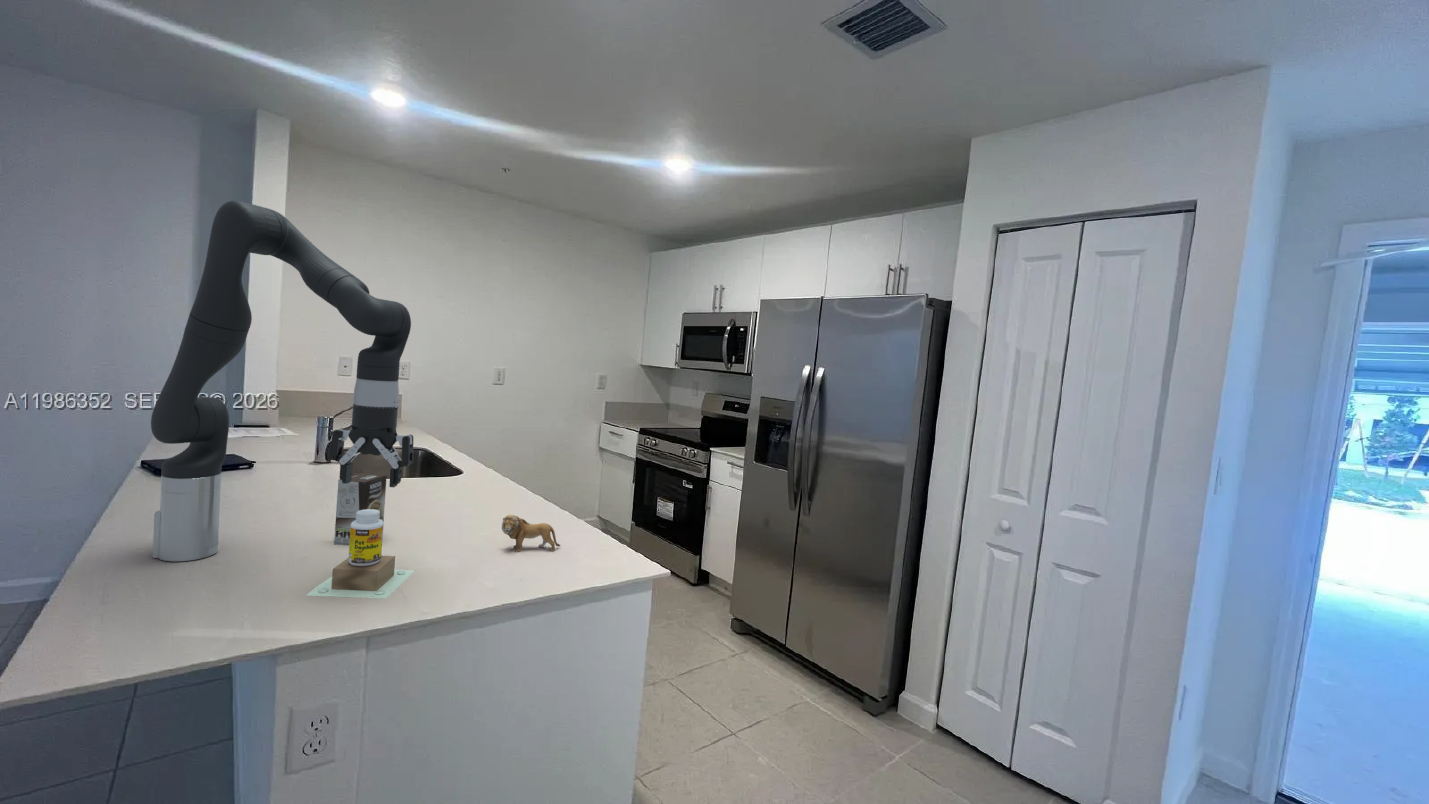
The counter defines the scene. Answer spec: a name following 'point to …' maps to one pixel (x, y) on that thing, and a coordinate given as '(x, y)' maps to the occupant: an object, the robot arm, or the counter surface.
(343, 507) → the coffee box
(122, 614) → the counter surface
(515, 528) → the lion figurine
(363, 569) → the walnut block
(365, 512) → the supplement bottle
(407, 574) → the plate
